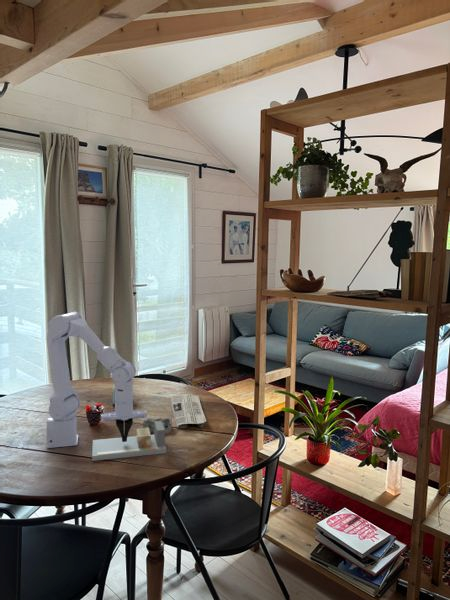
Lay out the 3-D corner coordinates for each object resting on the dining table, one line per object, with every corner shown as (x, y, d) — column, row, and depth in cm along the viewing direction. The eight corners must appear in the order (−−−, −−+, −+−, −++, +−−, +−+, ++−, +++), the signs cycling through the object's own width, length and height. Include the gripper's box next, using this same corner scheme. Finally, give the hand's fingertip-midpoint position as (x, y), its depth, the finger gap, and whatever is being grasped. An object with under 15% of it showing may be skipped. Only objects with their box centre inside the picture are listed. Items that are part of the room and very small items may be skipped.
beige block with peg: (138, 450, 140) (138, 439, 140) (136, 438, 149) (136, 428, 148) (151, 448, 141) (151, 438, 141) (148, 437, 150) (148, 427, 149)
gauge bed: (92, 460, 136) (91, 439, 135) (92, 444, 147) (92, 424, 147) (166, 453, 142) (166, 432, 141) (161, 437, 154) (161, 418, 153)
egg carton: (141, 434, 156) (141, 423, 156) (144, 426, 164) (143, 415, 163) (171, 434, 157) (171, 423, 157) (172, 426, 164) (172, 415, 164)
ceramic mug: (131, 406, 184) (131, 388, 183) (111, 406, 183) (111, 388, 182) (133, 398, 194) (133, 381, 194) (114, 398, 194) (114, 381, 193)
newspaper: (169, 399, 195) (170, 392, 194) (197, 398, 197) (197, 390, 197) (177, 431, 160) (177, 422, 160) (210, 429, 163) (210, 420, 162)
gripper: (100, 406, 137) (101, 448, 138) (147, 403, 141) (147, 443, 142) (100, 399, 143) (101, 438, 145) (145, 396, 147) (145, 434, 149)
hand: (124, 440), depth 144 cm, fingers closed
